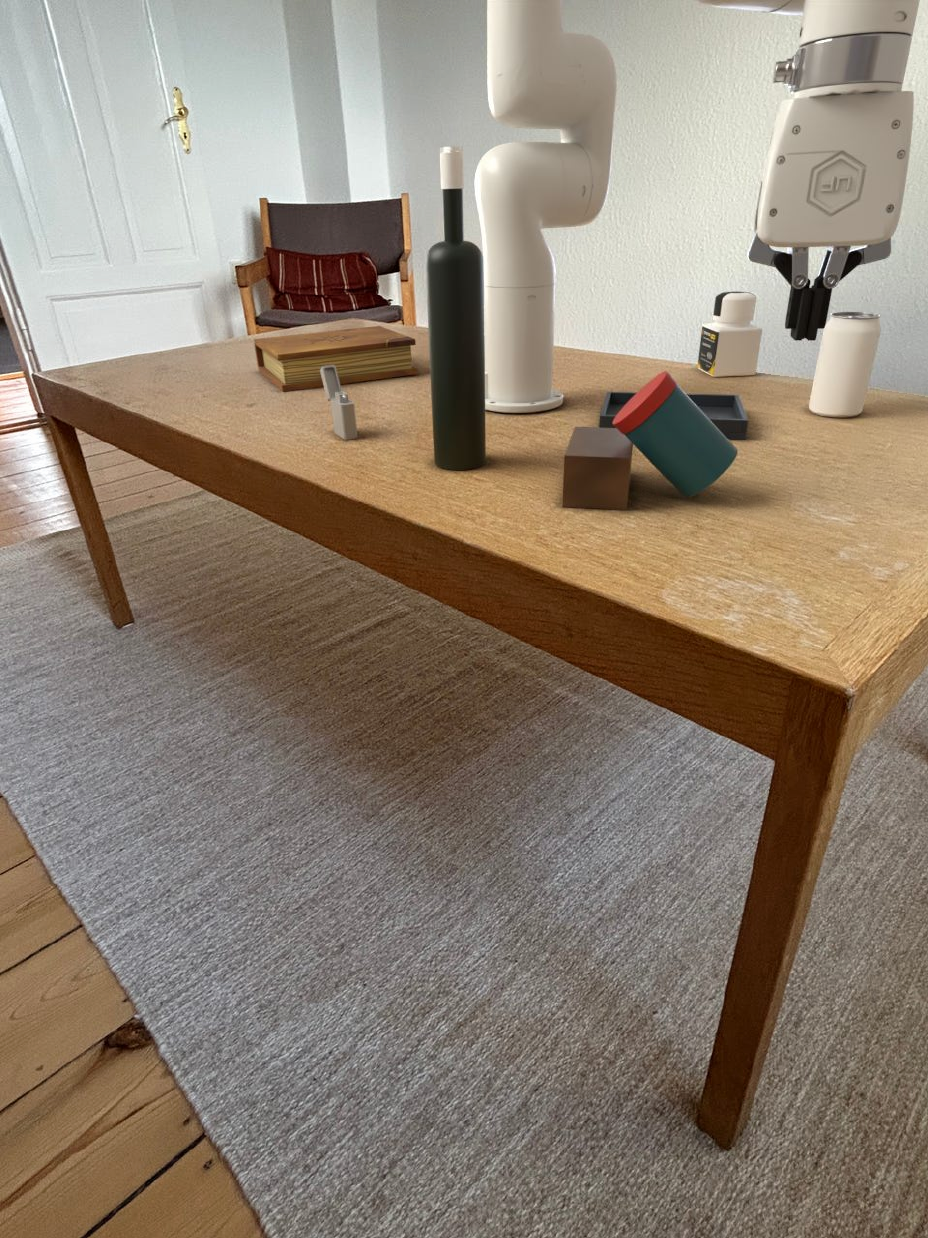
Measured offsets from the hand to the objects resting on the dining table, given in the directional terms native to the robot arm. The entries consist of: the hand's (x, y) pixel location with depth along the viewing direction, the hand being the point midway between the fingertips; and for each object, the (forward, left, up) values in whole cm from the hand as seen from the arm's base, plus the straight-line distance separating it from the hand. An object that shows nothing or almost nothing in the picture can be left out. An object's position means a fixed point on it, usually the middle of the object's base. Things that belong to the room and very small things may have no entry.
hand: (802, 337), depth 64 cm
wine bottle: (-32, +7, -15) cm, 36 cm away
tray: (-9, +27, -15) cm, 32 cm away
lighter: (-50, +17, -15) cm, 55 cm away
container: (-10, 0, -15) cm, 17 cm away
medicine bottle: (0, +60, -15) cm, 62 cm away
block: (-16, 0, -15) cm, 22 cm away
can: (+12, +35, -15) cm, 40 cm away
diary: (-65, +53, -15) cm, 86 cm away
